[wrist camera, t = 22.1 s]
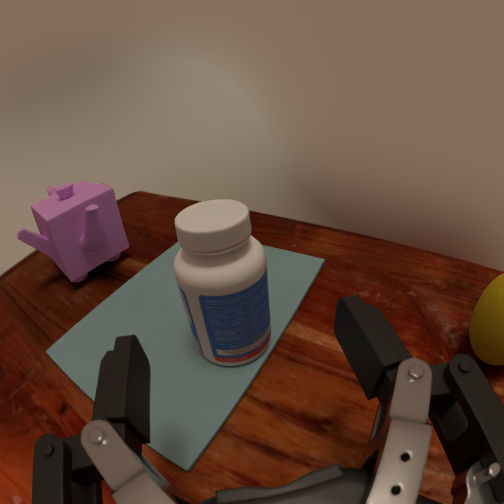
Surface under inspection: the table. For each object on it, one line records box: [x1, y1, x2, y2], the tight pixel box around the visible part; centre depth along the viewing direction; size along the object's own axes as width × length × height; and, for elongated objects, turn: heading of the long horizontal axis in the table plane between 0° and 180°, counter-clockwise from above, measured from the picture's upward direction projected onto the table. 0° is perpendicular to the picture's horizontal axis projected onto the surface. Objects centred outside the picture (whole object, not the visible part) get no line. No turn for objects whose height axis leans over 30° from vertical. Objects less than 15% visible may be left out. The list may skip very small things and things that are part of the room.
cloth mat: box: [46, 242, 325, 472], centre depth 24 cm, size 16×22×1 cm
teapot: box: [16, 181, 129, 282], centre depth 29 cm, size 18×13×10 cm
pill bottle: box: [174, 199, 271, 366], centre depth 18 cm, size 6×5×10 cm
